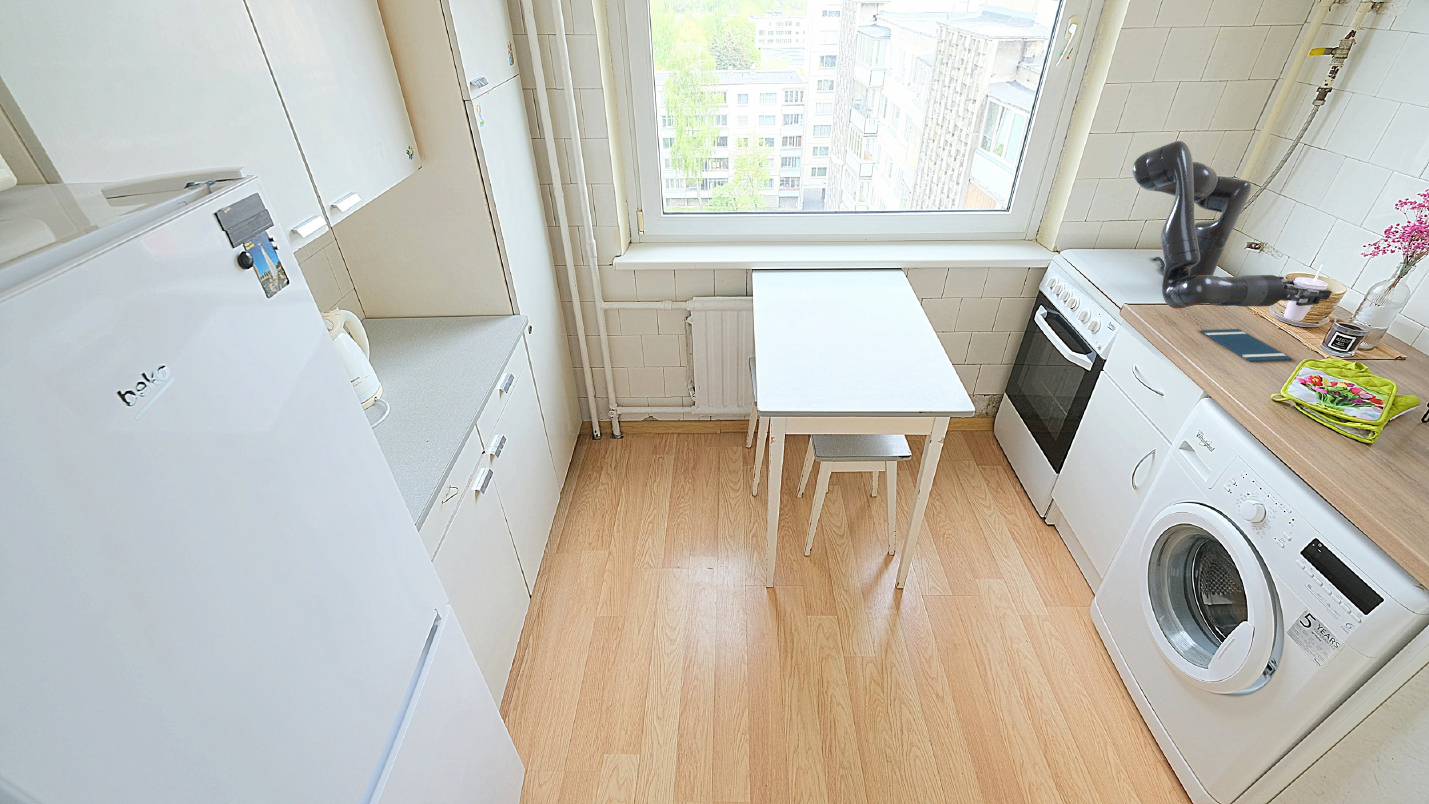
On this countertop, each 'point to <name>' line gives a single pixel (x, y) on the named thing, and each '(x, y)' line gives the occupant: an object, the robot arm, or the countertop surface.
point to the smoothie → (1310, 283)
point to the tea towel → (1245, 345)
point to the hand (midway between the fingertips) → (1316, 289)
